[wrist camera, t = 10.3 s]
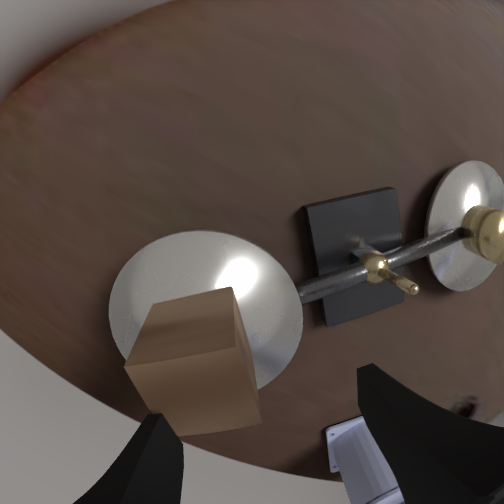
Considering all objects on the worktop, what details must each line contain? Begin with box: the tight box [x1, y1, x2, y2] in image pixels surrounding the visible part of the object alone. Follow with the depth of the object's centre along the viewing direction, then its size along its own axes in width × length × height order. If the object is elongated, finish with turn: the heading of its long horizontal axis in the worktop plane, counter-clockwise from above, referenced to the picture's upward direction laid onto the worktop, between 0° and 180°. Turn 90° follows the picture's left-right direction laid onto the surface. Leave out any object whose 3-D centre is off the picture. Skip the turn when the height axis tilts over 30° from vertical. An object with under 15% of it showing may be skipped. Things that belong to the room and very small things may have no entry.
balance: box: [109, 160, 504, 389], centre depth 16 cm, size 10×30×6 cm, turn 103°
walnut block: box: [124, 286, 263, 436], centre depth 12 cm, size 4×4×5 cm
